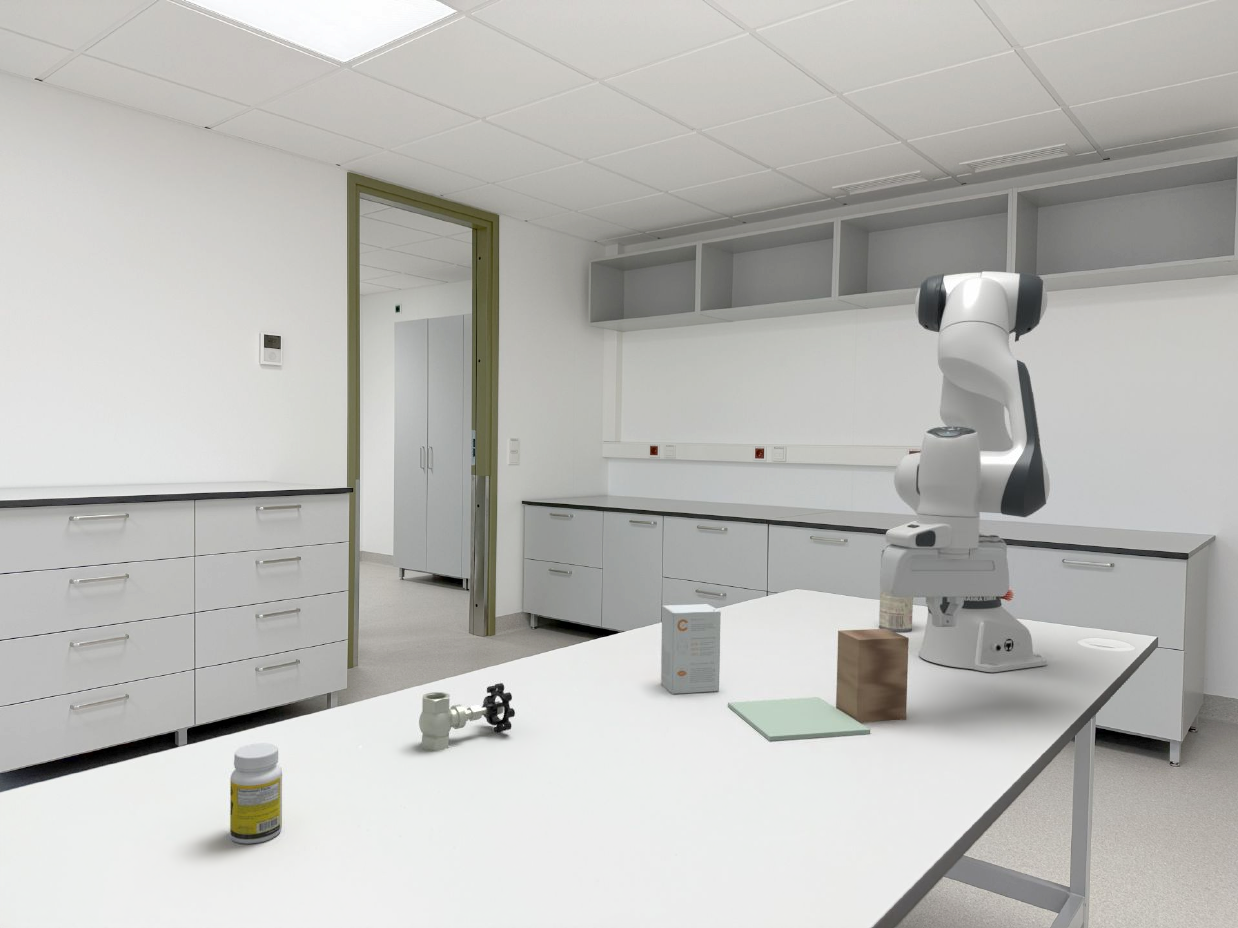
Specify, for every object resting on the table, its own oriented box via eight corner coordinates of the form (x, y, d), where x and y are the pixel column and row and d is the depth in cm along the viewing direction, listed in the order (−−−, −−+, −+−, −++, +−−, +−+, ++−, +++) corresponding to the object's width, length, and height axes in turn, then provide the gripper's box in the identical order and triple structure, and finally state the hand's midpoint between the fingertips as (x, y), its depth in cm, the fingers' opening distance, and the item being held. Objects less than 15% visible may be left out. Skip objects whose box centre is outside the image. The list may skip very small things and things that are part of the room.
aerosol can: (918, 631, 182) (921, 539, 182) (889, 632, 181) (892, 539, 180) (900, 625, 189) (903, 535, 188) (873, 625, 187) (875, 535, 187)
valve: (432, 757, 105) (514, 737, 113) (433, 705, 105) (515, 688, 113) (408, 742, 110) (489, 724, 118) (409, 692, 110) (489, 677, 118)
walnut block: (884, 706, 129) (887, 628, 129) (907, 719, 123) (909, 637, 123) (835, 710, 127) (838, 630, 127) (856, 723, 121) (859, 639, 121)
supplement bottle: (240, 823, 86) (240, 741, 86) (288, 822, 87) (288, 740, 86) (222, 845, 81) (222, 759, 81) (272, 844, 82) (273, 758, 82)
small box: (706, 680, 141) (708, 603, 141) (719, 692, 135) (721, 610, 135) (659, 683, 139) (661, 604, 139) (671, 694, 133) (673, 612, 133)
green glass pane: (818, 700, 131) (818, 696, 131) (870, 733, 117) (870, 729, 117) (727, 706, 128) (728, 702, 128) (769, 740, 113) (769, 736, 113)
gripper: (992, 533, 133) (989, 621, 133) (876, 531, 128) (872, 623, 128) (1020, 537, 127) (1017, 629, 127) (899, 535, 122) (896, 631, 122)
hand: (943, 626), depth 128 cm, fingers closed
